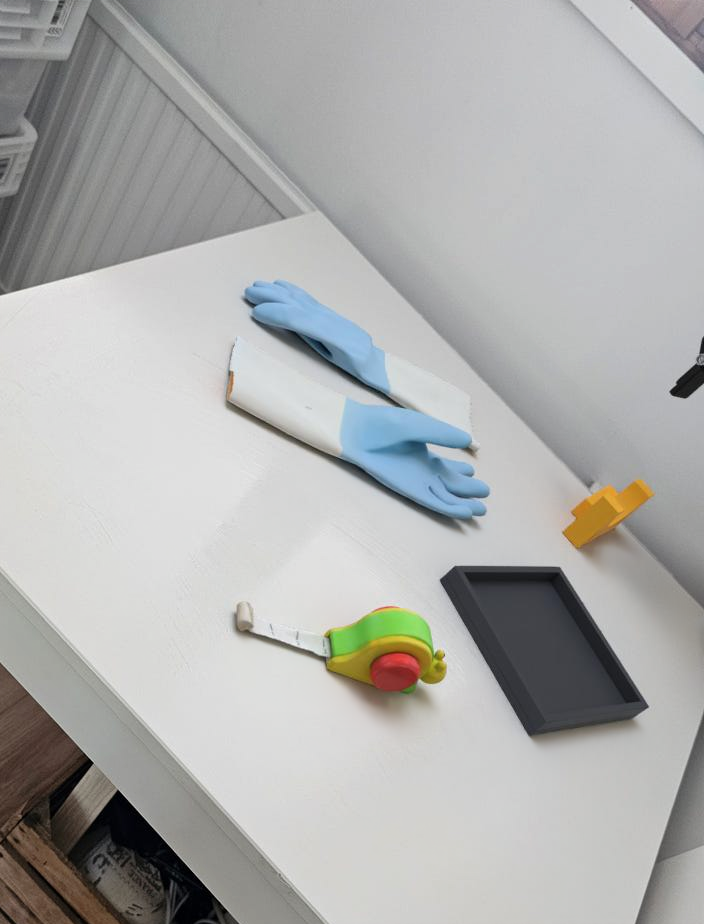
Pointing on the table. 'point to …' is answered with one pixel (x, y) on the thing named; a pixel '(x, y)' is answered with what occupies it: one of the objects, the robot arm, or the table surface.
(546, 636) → the dark grey tray
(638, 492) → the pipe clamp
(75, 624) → the table surface
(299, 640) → the toy measuring tape
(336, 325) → the rubber gloves
